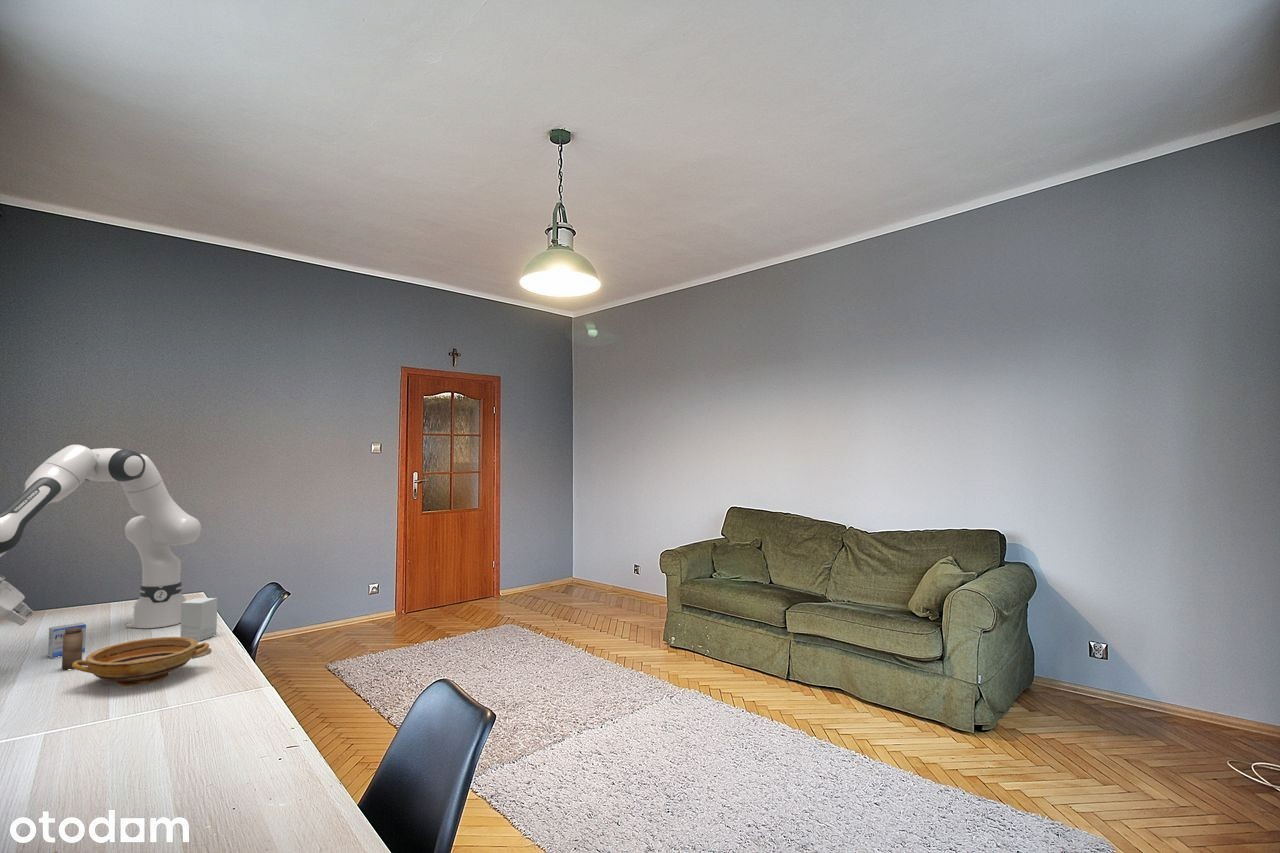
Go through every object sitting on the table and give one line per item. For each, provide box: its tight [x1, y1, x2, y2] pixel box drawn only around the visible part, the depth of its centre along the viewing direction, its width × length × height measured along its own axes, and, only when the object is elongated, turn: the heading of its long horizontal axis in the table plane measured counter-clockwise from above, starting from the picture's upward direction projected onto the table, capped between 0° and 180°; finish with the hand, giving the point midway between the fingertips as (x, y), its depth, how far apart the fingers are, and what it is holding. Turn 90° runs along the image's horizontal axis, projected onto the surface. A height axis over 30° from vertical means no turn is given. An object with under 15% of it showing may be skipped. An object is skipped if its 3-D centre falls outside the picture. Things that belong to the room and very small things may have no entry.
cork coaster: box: [195, 647, 212, 658], centre depth 194 cm, size 10×10×1 cm
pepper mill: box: [61, 627, 83, 671], centre depth 182 cm, size 4×4×11 cm
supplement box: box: [179, 597, 218, 642], centre depth 211 cm, size 7×7×13 cm
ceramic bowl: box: [72, 636, 210, 687], centre depth 174 cm, size 30×24×8 cm
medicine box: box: [47, 622, 87, 659], centre depth 194 cm, size 8×4×9 cm, turn 143°
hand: (28, 619), depth 177 cm, fingers open, 8 cm apart
